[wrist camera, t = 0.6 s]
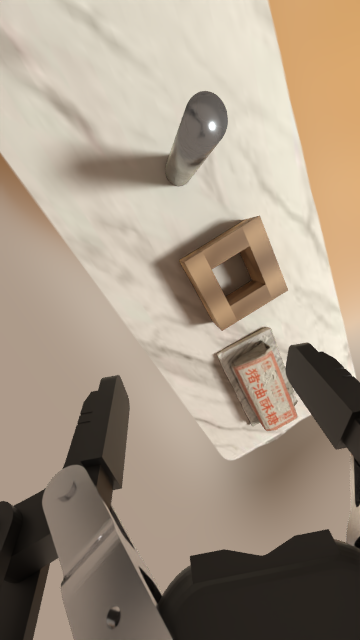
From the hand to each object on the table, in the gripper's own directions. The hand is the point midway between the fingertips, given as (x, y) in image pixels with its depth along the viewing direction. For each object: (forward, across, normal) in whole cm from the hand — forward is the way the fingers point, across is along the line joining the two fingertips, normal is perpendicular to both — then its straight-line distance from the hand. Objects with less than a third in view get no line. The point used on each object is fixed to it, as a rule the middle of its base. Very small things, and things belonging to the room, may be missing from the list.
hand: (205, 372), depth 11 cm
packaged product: (+20, -12, +25) cm, 34 cm away
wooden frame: (+24, -8, +5) cm, 25 cm away
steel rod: (+26, -3, -9) cm, 28 cm away
